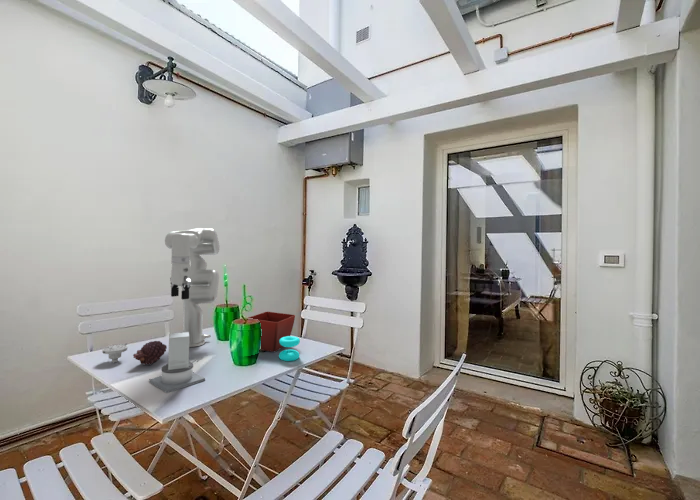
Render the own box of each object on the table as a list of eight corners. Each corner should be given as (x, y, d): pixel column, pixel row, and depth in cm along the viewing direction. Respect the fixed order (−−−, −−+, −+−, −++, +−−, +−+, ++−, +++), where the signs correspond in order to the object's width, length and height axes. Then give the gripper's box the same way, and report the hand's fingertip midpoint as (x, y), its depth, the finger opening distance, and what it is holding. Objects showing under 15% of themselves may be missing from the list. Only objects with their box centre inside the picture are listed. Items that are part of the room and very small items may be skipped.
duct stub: (186, 370, 145) (186, 357, 145) (205, 380, 136) (205, 365, 136) (149, 381, 133) (149, 366, 133) (166, 392, 124) (166, 376, 124)
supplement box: (188, 367, 133) (189, 336, 133) (167, 370, 130) (168, 338, 130) (188, 361, 140) (189, 331, 140) (168, 364, 137) (169, 333, 136)
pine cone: (157, 355, 163) (157, 335, 163) (175, 357, 161) (176, 337, 161) (126, 368, 146) (127, 345, 145) (146, 371, 144) (147, 348, 144)
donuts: (275, 337, 164) (291, 334, 172) (274, 358, 165) (290, 353, 172) (287, 342, 158) (304, 338, 165) (287, 363, 158) (303, 358, 165)
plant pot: (276, 355, 169) (277, 322, 168) (244, 350, 175) (245, 318, 175) (295, 344, 187) (296, 314, 186) (266, 340, 193) (266, 311, 193)
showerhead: (133, 344, 156) (109, 350, 147) (132, 360, 156) (109, 366, 147) (121, 341, 160) (98, 346, 152) (121, 356, 160) (97, 362, 152)
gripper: (198, 261, 151) (197, 299, 152) (179, 259, 162) (179, 294, 162) (181, 262, 145) (180, 301, 146) (163, 259, 156) (162, 296, 156)
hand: (179, 297), depth 154 cm, fingers open, 9 cm apart
